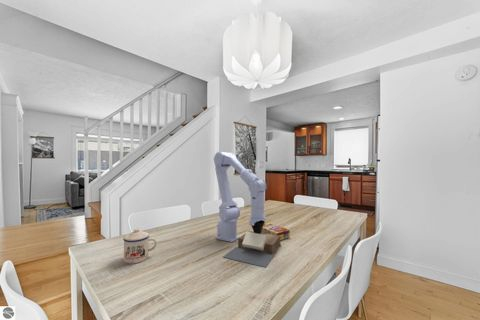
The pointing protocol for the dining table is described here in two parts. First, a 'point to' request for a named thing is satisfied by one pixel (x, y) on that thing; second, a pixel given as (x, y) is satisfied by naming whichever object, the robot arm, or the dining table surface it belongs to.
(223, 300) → the dining table surface
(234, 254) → the slate mat
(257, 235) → the cream rectangular block
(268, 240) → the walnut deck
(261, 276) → the dining table surface
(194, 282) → the dining table surface
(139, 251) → the teacup with lid
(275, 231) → the candy box
